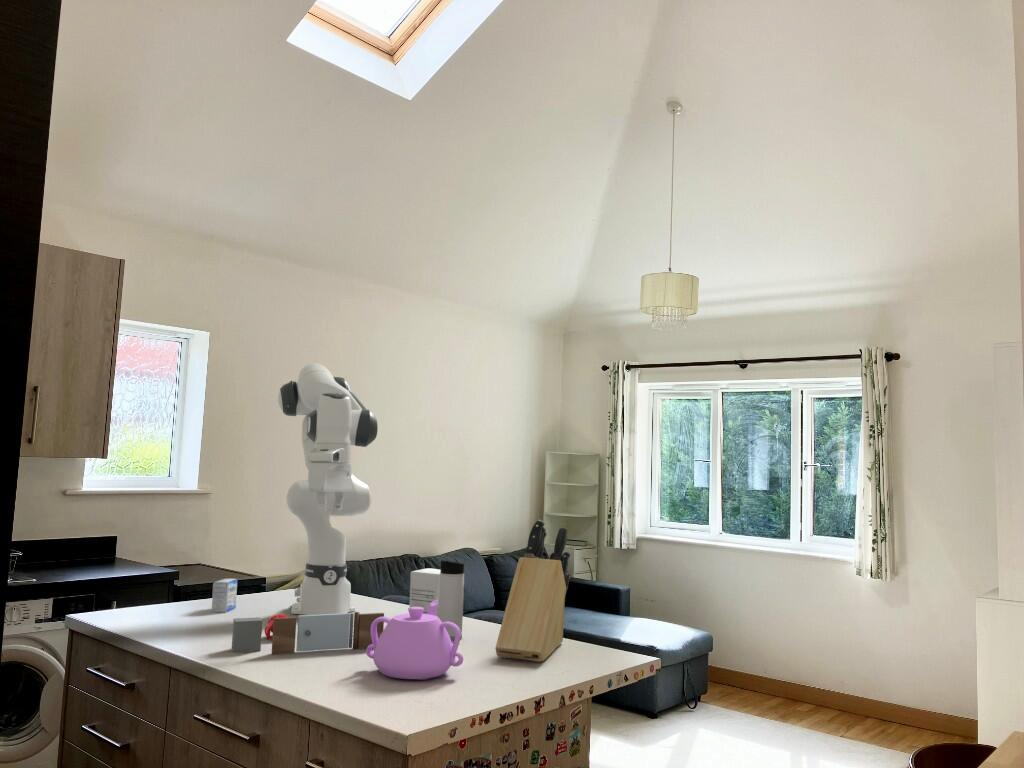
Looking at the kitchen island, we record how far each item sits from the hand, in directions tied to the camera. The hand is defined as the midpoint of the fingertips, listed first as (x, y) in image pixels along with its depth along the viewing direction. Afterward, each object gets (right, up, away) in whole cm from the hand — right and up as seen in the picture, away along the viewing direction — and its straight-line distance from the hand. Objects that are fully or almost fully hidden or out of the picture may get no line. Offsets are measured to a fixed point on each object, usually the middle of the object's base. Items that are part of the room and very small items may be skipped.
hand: (330, 510), depth 202 cm
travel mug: (+30, -34, +4) cm, 45 cm away
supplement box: (+23, -36, +21) cm, 47 cm away
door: (+2, -31, -14) cm, 34 cm away
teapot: (+25, -30, -29) cm, 49 cm away
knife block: (+52, -34, -3) cm, 62 cm away
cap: (-13, -32, -1) cm, 35 cm away
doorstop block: (-16, -30, -15) cm, 38 cm away
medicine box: (-39, -35, +33) cm, 61 cm away
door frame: (+2, -31, -13) cm, 34 cm away
